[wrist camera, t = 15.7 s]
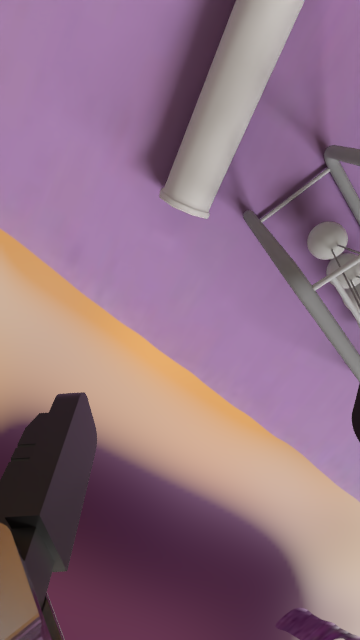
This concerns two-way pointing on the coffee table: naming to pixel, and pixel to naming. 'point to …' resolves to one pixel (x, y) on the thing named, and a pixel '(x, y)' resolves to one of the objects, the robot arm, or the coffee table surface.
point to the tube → (228, 101)
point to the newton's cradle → (323, 257)
